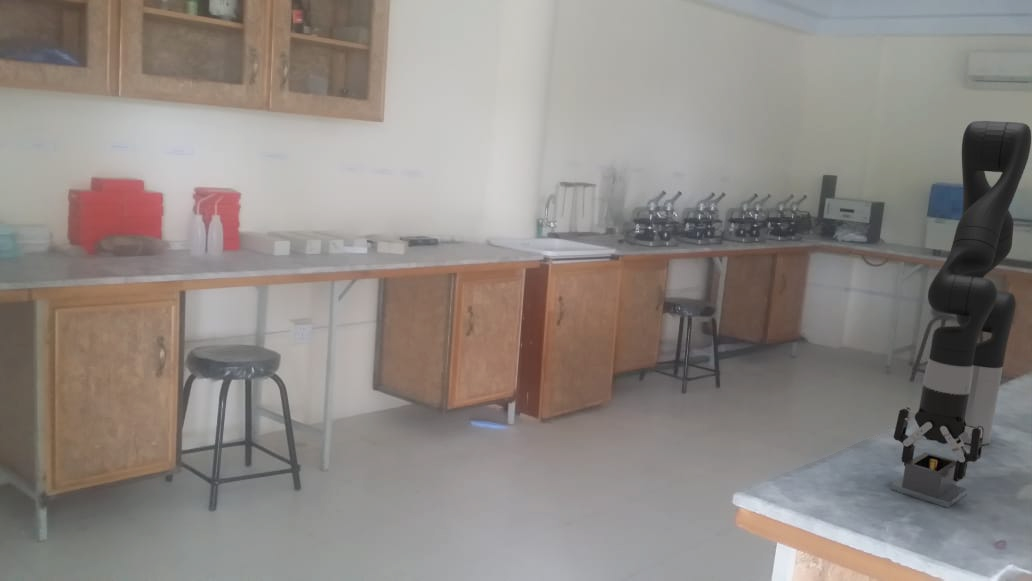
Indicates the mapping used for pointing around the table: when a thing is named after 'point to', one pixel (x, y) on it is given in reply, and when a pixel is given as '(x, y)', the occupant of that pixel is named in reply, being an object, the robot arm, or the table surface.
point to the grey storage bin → (929, 475)
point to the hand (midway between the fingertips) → (931, 472)
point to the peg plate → (944, 500)
